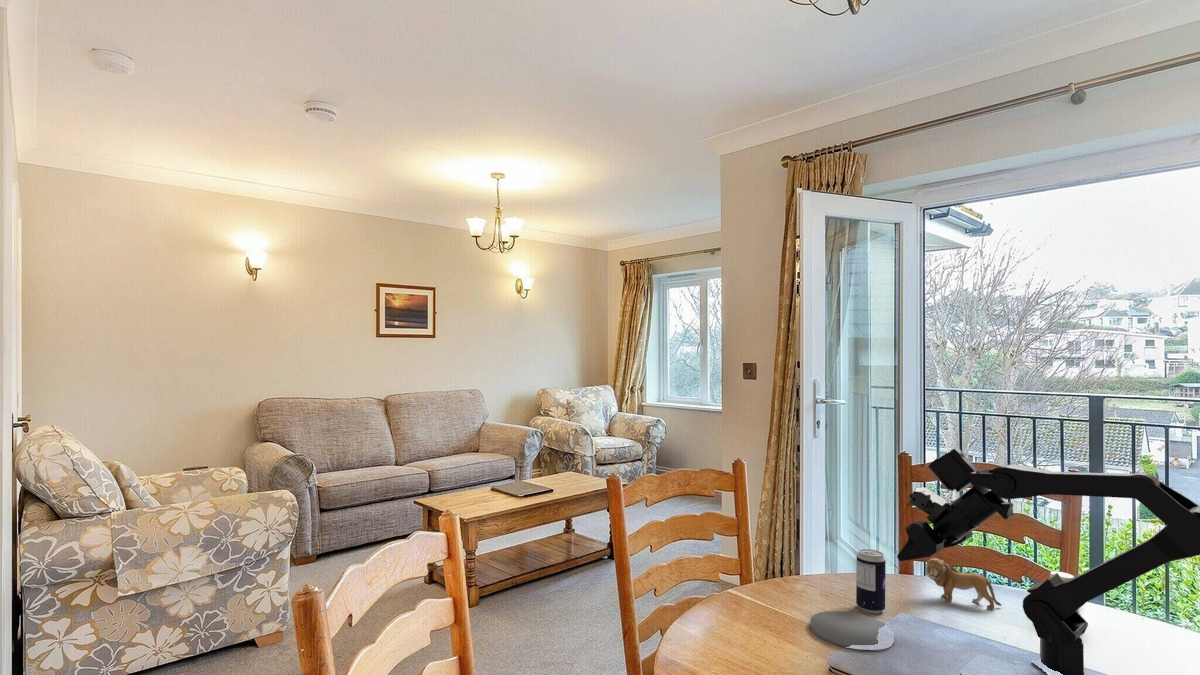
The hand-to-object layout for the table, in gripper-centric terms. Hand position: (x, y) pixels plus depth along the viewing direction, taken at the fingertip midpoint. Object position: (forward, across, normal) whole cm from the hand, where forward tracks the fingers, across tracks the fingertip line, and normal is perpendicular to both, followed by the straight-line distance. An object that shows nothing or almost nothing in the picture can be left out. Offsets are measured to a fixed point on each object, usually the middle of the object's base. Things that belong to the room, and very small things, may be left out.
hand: (908, 554), depth 124 cm
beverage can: (+15, 0, +4) cm, 16 cm away
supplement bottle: (-4, -26, +24) cm, 36 cm away
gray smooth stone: (+13, +15, +6) cm, 20 cm away
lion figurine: (+8, -21, +11) cm, 25 cm away
